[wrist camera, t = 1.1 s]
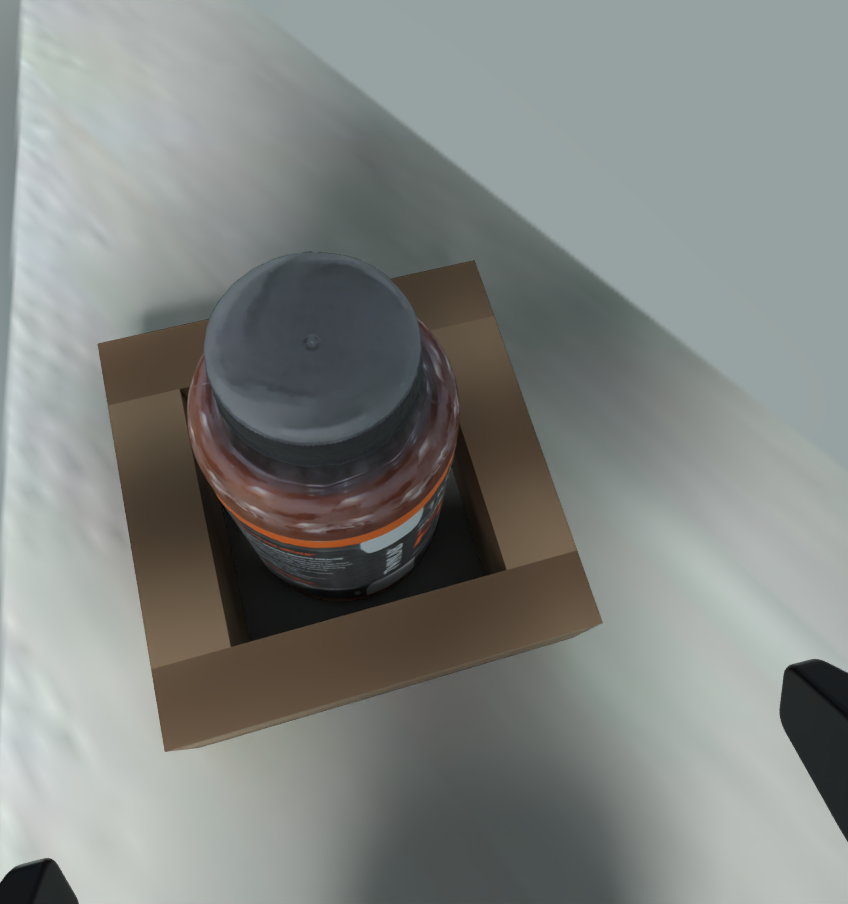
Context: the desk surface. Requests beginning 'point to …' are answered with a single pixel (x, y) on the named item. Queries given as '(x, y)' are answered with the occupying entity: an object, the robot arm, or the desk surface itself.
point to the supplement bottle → (325, 423)
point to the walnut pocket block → (364, 632)
